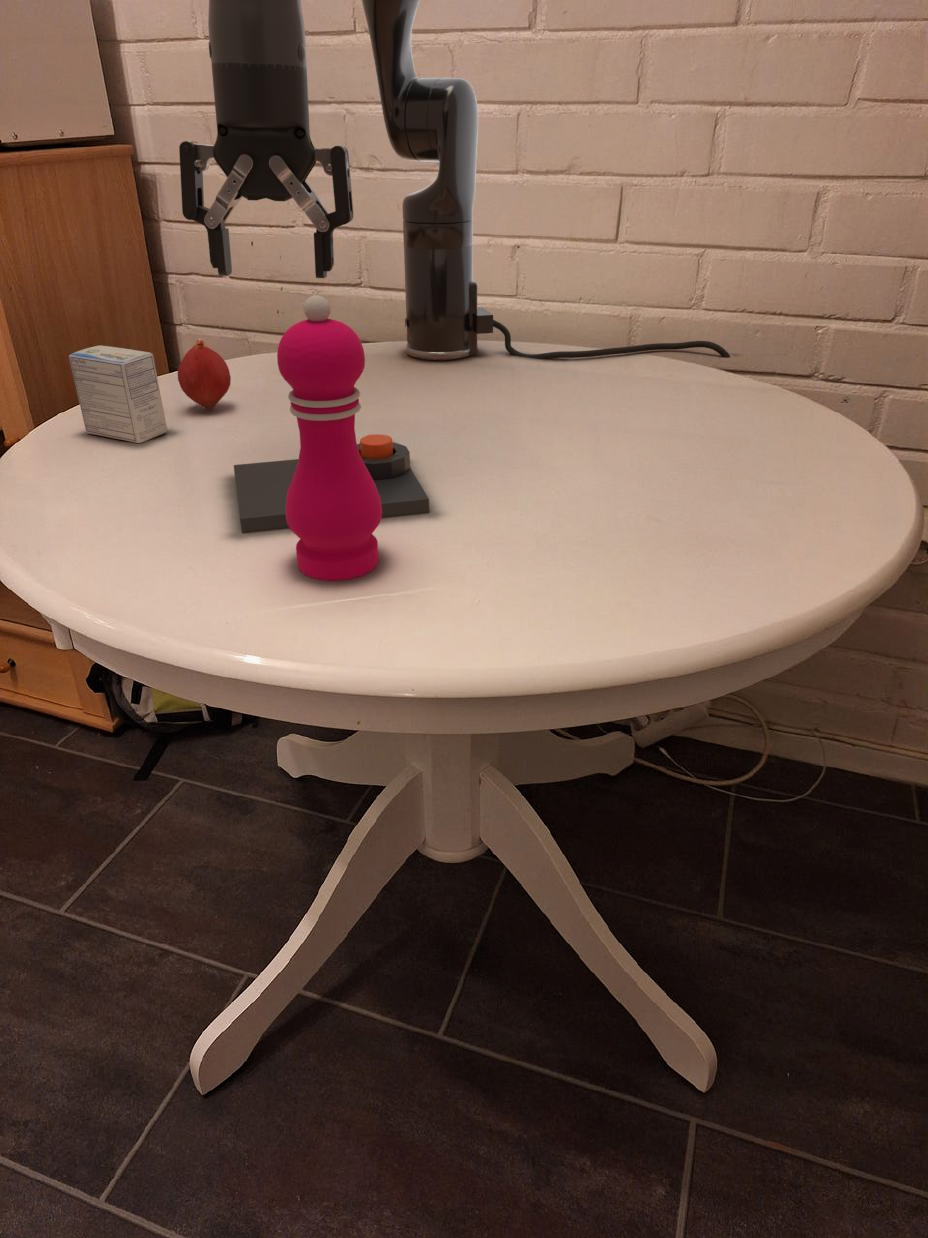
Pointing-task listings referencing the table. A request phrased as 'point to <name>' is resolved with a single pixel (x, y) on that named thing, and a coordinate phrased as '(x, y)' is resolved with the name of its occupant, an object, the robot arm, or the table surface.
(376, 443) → the button
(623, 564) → the table surface
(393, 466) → the scale
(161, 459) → the table surface
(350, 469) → the pepper mill
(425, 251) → the robot arm
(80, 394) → the medicine box
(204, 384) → the onion
